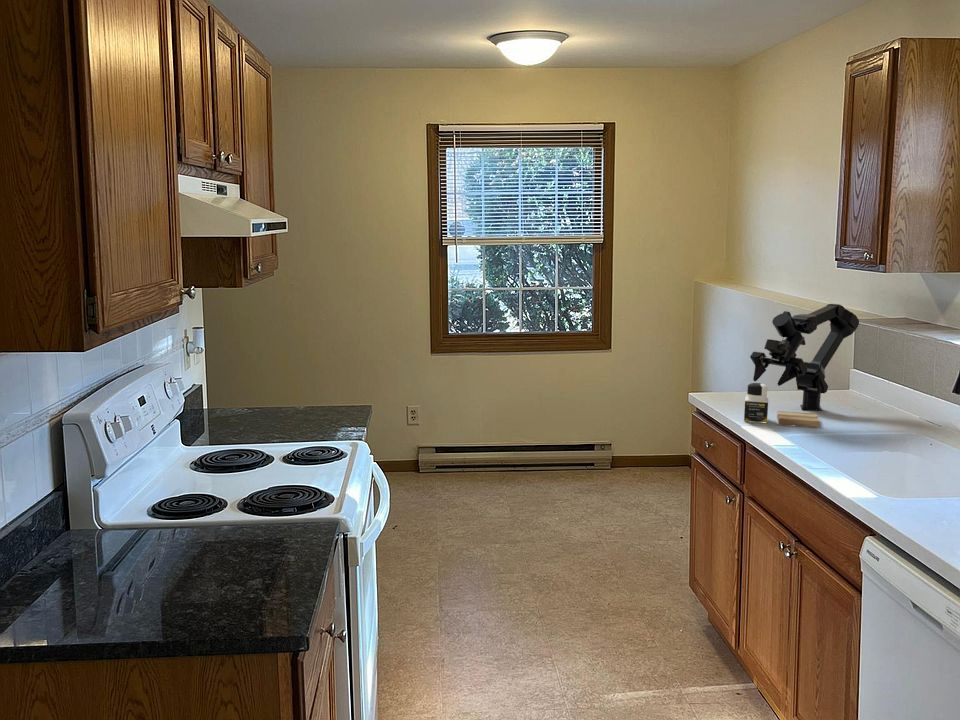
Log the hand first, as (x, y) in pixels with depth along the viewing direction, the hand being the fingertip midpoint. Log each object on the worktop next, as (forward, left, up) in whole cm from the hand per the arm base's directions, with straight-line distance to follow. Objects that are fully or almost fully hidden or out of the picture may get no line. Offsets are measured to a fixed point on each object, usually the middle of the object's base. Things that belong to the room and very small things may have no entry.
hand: (766, 382), depth 309 cm
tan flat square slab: (+2, +10, -12) cm, 16 cm away
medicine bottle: (+3, -3, -12) cm, 13 cm away
